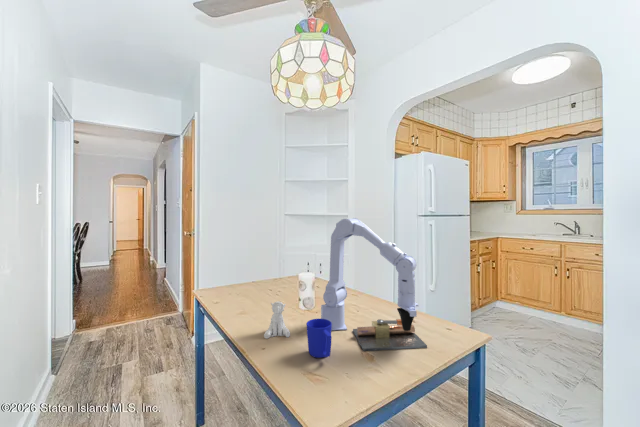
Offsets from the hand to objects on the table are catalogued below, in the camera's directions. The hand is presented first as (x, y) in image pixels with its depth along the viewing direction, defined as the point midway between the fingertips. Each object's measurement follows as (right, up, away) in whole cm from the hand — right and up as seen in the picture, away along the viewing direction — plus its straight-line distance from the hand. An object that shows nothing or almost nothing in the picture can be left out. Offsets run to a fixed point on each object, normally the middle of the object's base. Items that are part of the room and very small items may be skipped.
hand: (406, 329), depth 101 cm
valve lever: (-3, 0, +5) cm, 6 cm away
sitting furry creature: (-47, -5, +8) cm, 48 cm away
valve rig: (-6, -4, +3) cm, 8 cm away
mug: (-30, -5, -9) cm, 32 cm away
